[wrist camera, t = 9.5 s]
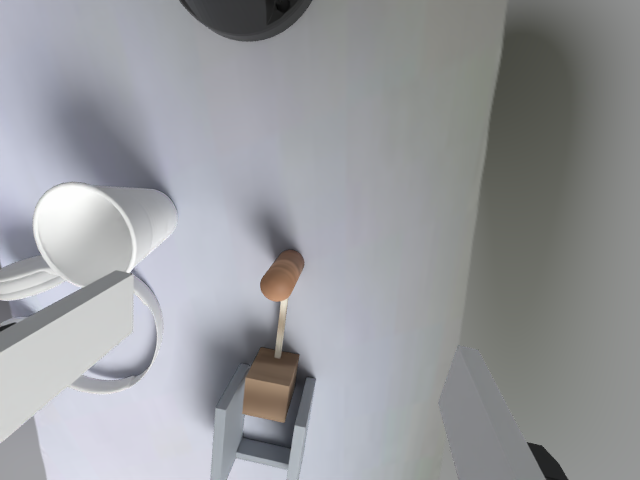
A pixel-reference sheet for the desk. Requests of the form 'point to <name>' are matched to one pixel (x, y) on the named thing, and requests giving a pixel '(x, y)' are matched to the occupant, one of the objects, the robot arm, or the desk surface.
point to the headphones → (39, 278)
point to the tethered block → (275, 365)
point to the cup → (100, 228)
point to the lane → (234, 446)
